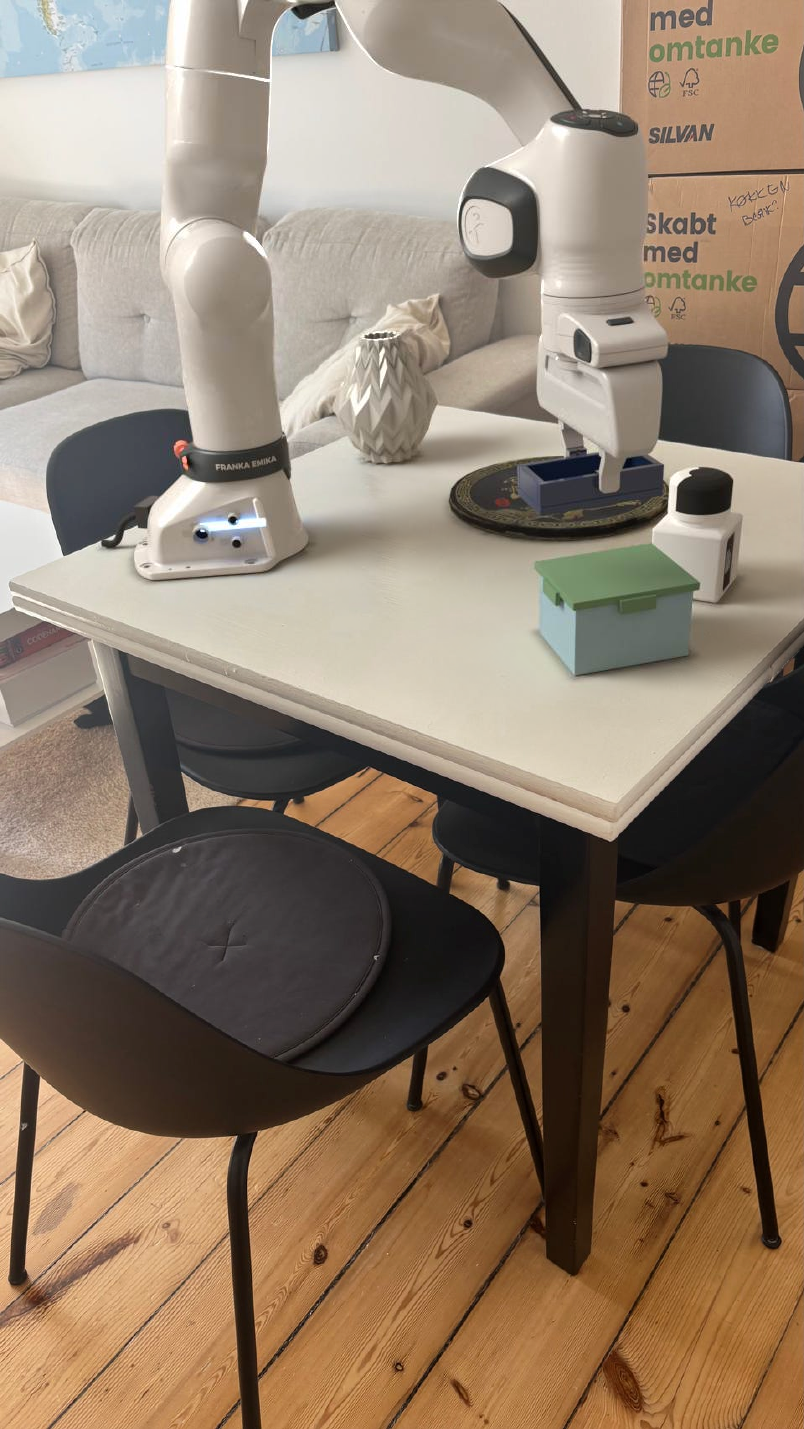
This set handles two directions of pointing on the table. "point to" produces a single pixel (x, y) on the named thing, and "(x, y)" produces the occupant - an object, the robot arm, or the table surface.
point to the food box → (615, 608)
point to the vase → (384, 399)
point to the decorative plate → (502, 511)
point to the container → (702, 529)
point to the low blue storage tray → (585, 483)
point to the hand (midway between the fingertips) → (590, 478)
